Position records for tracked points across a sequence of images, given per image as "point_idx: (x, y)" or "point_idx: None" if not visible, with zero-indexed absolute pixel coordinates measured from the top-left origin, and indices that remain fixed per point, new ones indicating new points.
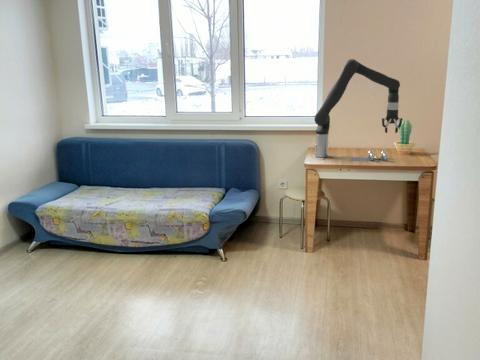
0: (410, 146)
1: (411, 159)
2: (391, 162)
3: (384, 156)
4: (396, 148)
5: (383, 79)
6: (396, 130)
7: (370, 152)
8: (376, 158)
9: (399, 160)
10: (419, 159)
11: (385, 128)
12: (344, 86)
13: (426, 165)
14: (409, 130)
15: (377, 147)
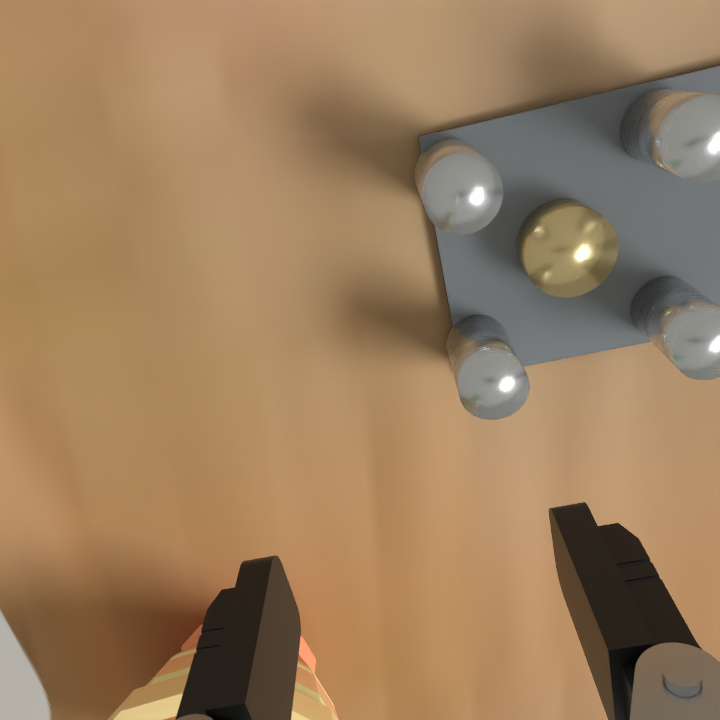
0: (136, 690)
1: (109, 389)
2: (350, 122)
3: (475, 152)
4: (328, 699)
5: None
6: (236, 619)
7: (716, 308)
8: (589, 208)
9: (250, 291)
10: (15, 412)
11: (682, 633)
12: None
13: None
14: None
15: None
